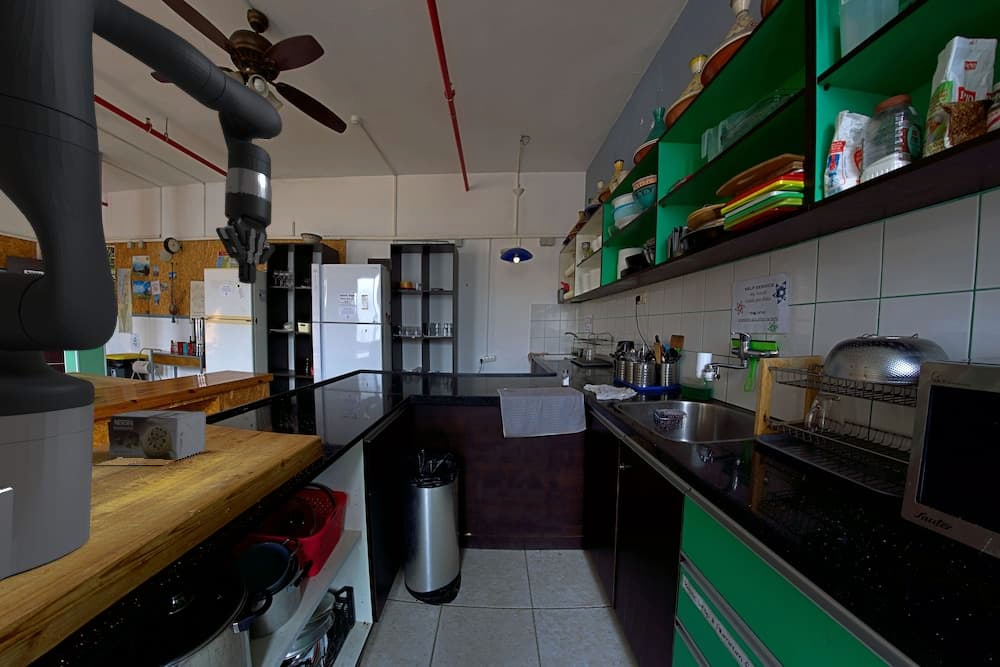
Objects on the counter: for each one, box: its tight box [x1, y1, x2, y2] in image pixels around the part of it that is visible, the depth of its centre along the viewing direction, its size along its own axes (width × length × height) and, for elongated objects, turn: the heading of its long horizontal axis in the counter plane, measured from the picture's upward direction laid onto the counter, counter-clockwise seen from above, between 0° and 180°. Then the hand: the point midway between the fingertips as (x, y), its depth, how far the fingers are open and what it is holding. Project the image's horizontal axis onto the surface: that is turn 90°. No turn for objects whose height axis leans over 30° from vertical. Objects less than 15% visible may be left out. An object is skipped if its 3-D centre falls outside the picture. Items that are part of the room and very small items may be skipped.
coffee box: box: [108, 409, 207, 461], centre depth 72 cm, size 9×6×16 cm
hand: (247, 283), depth 66 cm, fingers closed
